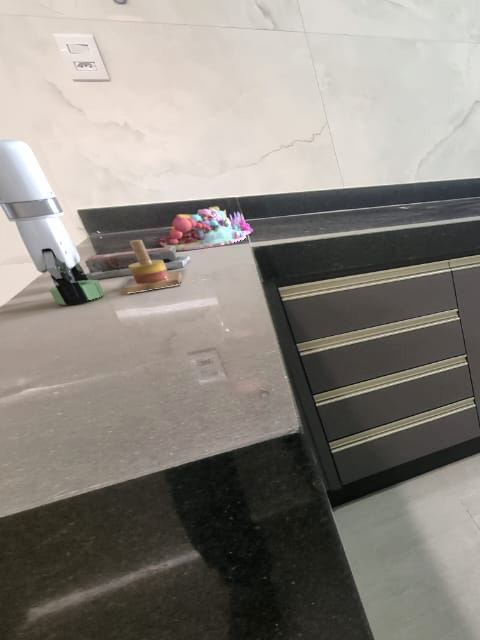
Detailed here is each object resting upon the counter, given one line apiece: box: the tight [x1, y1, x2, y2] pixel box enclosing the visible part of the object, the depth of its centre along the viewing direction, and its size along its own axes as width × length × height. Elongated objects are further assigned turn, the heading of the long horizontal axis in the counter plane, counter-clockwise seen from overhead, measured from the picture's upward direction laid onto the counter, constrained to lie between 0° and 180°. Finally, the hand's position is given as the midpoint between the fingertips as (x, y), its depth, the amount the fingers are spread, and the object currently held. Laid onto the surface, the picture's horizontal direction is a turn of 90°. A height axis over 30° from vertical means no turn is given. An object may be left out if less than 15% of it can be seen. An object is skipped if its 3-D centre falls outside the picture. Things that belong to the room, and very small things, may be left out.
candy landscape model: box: [155, 205, 254, 252], centre depth 158 cm, size 25×24×9 cm
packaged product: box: [84, 247, 191, 280], centre depth 129 cm, size 18×5×10 cm
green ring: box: [49, 279, 106, 306], centre depth 108 cm, size 7×7×3 cm
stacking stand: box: [123, 239, 183, 294], centre depth 114 cm, size 9×9×10 cm
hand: (80, 297), depth 108 cm, fingers closed on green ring, 7 cm apart
